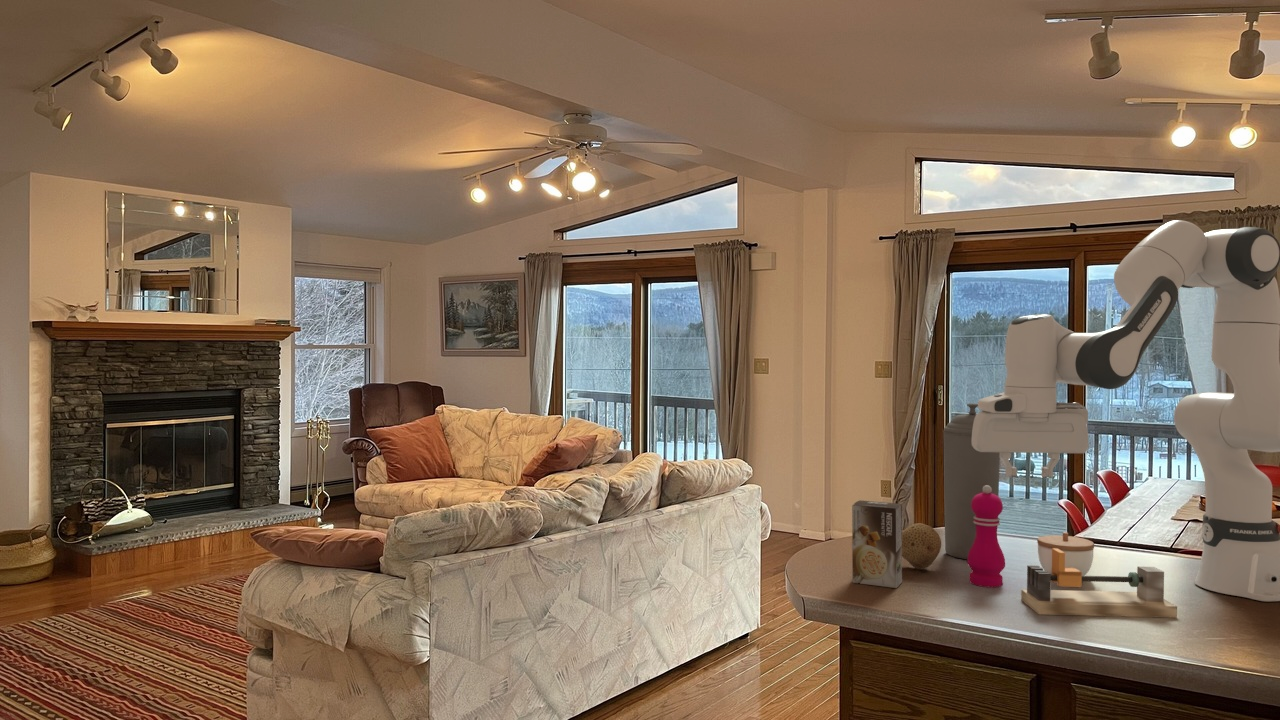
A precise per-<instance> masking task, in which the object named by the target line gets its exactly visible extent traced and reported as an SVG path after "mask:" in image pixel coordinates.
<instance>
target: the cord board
mask: <svg viewBox="0 0 1280 720" xmlns="http://www.w3.org/2000/svg"><path fill="white" fill-rule="evenodd" d="M1026 572H1027V573H1026V575H1027V576H1026V589H1021V594H1020V600H1021V601H1022V602H1023V603H1025V604H1026V605H1027V606H1028V607H1029V608H1030V609H1032V610H1033V611H1034V612H1036V614H1038V615H1054V616H1056V615H1060V616H1093V617H1094V616H1097V617H1098V616H1100V617H1101V616H1102V617H1133V618H1134V617H1136V618H1137V617H1138V618H1139V617H1141V618H1178V606H1177V605H1175V604H1174V603H1172V602H1171V601H1169V600H1167V599H1165V597H1164V595H1165V592H1164V591H1165V571H1163V570H1161V569H1159V568H1158V567H1155V566H1138V565H1137V568H1136V572H1132V571H1130V572H1128V575H1127V576H1117V575H1116V576H1113V575H1111V576H1110V575H1108V576H1107V575H1085V576H1082V582H1094V583H1095V582H1096V583H1097V582H1101V583H1102V582H1104V583H1109V582H1111V583H1128V584H1129V586H1130V587H1131V588H1136V591H1115V590H1114V591H1106V590H1101V591H1100V590H1063V589H1062V590H1059V589H1058V590H1057V589H1051V585H1052V581H1057V575H1051V574H1050V573H1048V572H1047V571H1046V570H1044V569H1043V568H1042V566H1039V565H1032V564H1031V565H1027V570H1026Z"/></svg>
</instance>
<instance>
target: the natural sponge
mask: <svg viewBox="0 0 1280 720" xmlns="http://www.w3.org/2000/svg"><path fill="white" fill-rule="evenodd" d="M941 549H942V540H941V536H940V535H939V533H938V532H937V531H936V530H935V529H934V528H933V527H932V526H930V525H927V524H925V523H921V522H919V523H912V524H910V525H909V526H907V527H906V528H905V529H904V530H902V559H903V558H904V560H906V561H907V562H908V563H909V564H910V565H911V566H912V567H913V568H915V569H916V570H925V569H927V568H928V567H929V566H931V565H932V564H933V562H934V561H935V560H936V559H937V557H938V556H939V554H940V551H941Z"/></svg>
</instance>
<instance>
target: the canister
mask: <svg viewBox="0 0 1280 720" xmlns="http://www.w3.org/2000/svg"><path fill="white" fill-rule="evenodd" d="M966 406H967V407H968V408H969V412H968V414H967V413H964V414H958V415H957V414H956V415H955V416H954V417H953V418H952V419H950V422H948V423H947V424H946V426H944V428H943V430H942V433H943V435H942V436H943V499H944V500H943V501H944V502H943V503H944V504H943V505H944V510H943V511H944V548H945V550H944V551H945V553H946V554H947V555H949V556H950V557H954V558H957V559H963V560H967V559H968V554H969V551H970V549H971V547H972V545H973V543H974V540H975V537H976V524H975V523H974V516H976V515H975V513H974V512H973V510H972V508H971V502H972V499H973V498H974V496H975V495H977V494H979V493H984V492H983V490H982V489H983V487H984V486H985V485H988V486H990V487H991V488H992V491H991V493H992V494H995V495H997V496H998V497H999V495H1000V494H999V493H1000V492H999V490H1000V470H1001V469H1000V468H1001V464H1000V463H1001V459H1000V452H979V451H976V450H975V449H974V448H973V446H972V429H973V423H974V419H975V416H976V415H977V411H976V408H978V403H973V402H972V403H971V402H970V403H967V404H966Z"/></svg>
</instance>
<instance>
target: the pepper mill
mask: <svg viewBox="0 0 1280 720" xmlns="http://www.w3.org/2000/svg"><path fill="white" fill-rule="evenodd" d="M982 490H983V492H984V493H979V494H977V495H975V496H974V498H973V499H972V502H971V508H972V510H973V512H974V513H975V515H976V516H974V523H975V524H976V537H975V540H974V543H973V545H972V547H971V549H970V551H969V554H968V559H966V560H967V561H966V562H967V565H968V566H969V568H970V570H971V571H970V572H969V582H970V584H973V585H975V586H978V587H985V588H999V587H1002V586H1003V575H1002V574H1001V572H1002V571H1003V570H1004V569H1005V567H1006V559H1005V554H1004V553H1003V550H1002V548H1001V546H1000V543H999V540H998V527H999V526H1000V524H1001V523H1000V520H1001V519H1000V517H999V516H1000V515H1001V514H1002V512H1003V507H1004V506H1003V505H1004V504H1003V501H1002V500H1001V498H1000V497H999V496H997V495H995V494H992V493H991V491H992V488H991V487H990V486H988V485H985V486H984V487H983V489H982Z"/></svg>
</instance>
